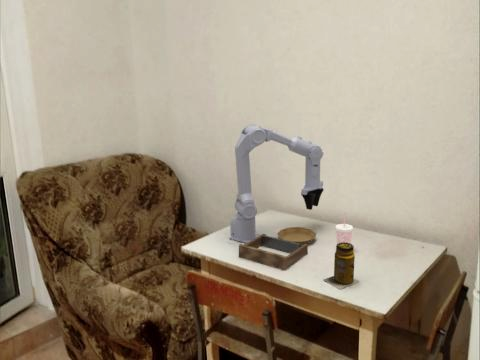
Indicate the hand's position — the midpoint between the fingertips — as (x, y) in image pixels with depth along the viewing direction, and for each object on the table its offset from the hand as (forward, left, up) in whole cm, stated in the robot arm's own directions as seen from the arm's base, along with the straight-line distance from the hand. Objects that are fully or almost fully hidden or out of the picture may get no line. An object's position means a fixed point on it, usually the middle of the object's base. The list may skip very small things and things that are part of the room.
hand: (312, 207), depth 182 cm
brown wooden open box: (0, -29, -9) cm, 31 cm away
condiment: (+28, -34, -10) cm, 45 cm away
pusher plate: (0, -25, -9) cm, 27 cm away
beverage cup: (+19, -12, -10) cm, 24 cm away
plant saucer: (0, -13, -10) cm, 16 cm away
